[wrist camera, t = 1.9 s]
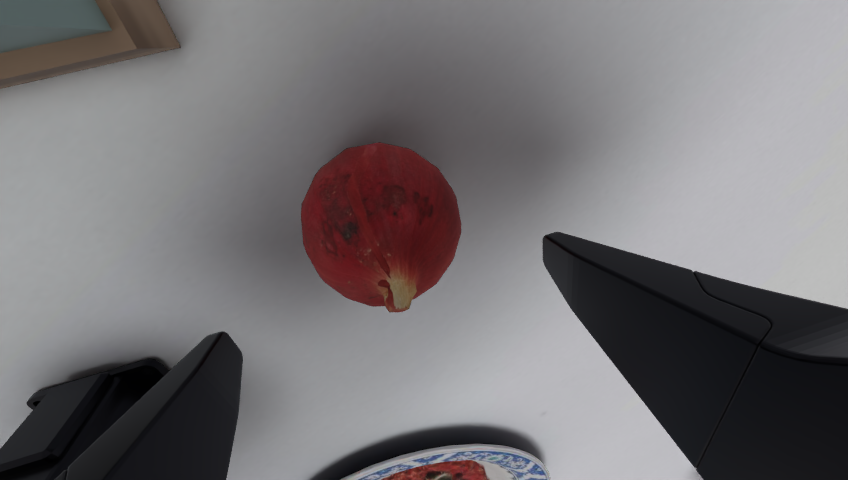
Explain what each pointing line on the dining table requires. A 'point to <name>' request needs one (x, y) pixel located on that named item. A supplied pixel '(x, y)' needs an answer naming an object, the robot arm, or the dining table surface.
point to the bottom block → (94, 44)
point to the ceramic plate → (458, 465)
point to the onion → (380, 225)
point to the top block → (47, 22)
